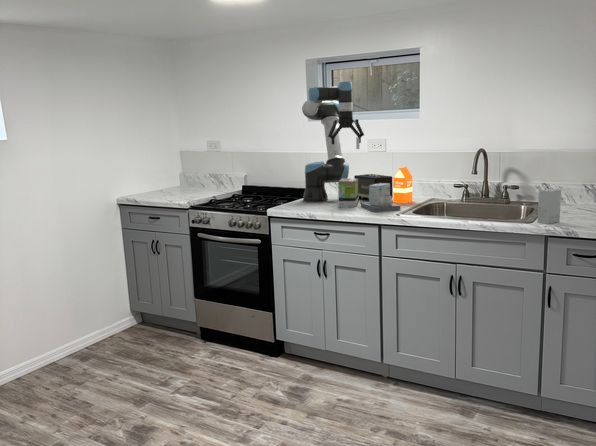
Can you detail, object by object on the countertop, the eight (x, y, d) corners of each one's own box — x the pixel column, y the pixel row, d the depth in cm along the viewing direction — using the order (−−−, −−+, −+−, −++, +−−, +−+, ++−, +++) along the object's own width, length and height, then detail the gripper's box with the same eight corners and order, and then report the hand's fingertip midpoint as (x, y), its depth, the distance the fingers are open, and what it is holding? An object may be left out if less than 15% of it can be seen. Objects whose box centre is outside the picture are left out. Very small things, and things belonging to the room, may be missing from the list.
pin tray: (360, 207, 308) (360, 193, 307) (385, 205, 312) (385, 192, 310) (374, 212, 290) (373, 198, 288) (400, 210, 293) (400, 196, 292)
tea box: (355, 207, 309) (355, 180, 306) (338, 207, 311) (337, 181, 308) (358, 203, 323) (358, 177, 321) (341, 203, 325) (340, 178, 323)
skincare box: (548, 220, 252) (550, 187, 250) (560, 222, 247) (562, 189, 244) (536, 222, 248) (538, 189, 245) (548, 224, 243) (550, 190, 240)
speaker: (354, 198, 342) (354, 174, 339) (371, 196, 348) (371, 172, 345) (375, 202, 323) (375, 176, 320) (392, 200, 329) (392, 175, 326)
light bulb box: (380, 202, 306) (380, 182, 304) (390, 203, 302) (390, 183, 300) (368, 204, 299) (368, 184, 297) (379, 205, 294) (378, 185, 292)
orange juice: (412, 201, 322) (412, 167, 318) (405, 203, 315) (405, 168, 312) (400, 200, 327) (400, 166, 323) (393, 202, 320) (392, 168, 316)
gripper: (326, 111, 296) (327, 151, 300) (369, 109, 302) (370, 148, 306) (321, 111, 303) (322, 150, 307) (364, 110, 310) (365, 148, 313)
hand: (346, 149), depth 307 cm, fingers open, 13 cm apart
